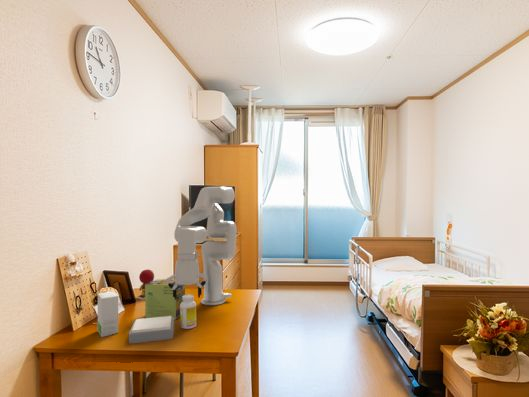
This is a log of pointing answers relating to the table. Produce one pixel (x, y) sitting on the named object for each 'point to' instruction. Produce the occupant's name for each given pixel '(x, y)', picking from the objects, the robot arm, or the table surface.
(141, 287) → the figurine
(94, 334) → the table surface
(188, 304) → the supplement bottle
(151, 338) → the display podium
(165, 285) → the protein box
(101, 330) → the skincare box
